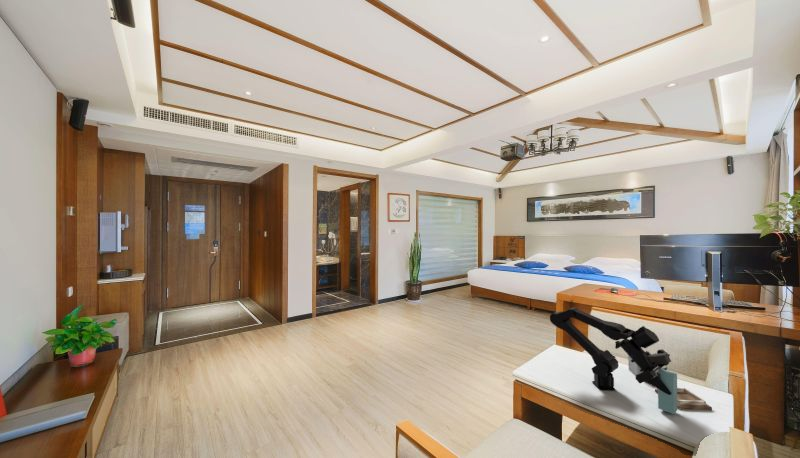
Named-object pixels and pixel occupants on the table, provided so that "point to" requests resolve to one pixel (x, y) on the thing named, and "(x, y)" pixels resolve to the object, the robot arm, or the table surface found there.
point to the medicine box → (633, 366)
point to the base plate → (689, 400)
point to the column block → (670, 381)
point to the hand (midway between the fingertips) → (672, 392)
